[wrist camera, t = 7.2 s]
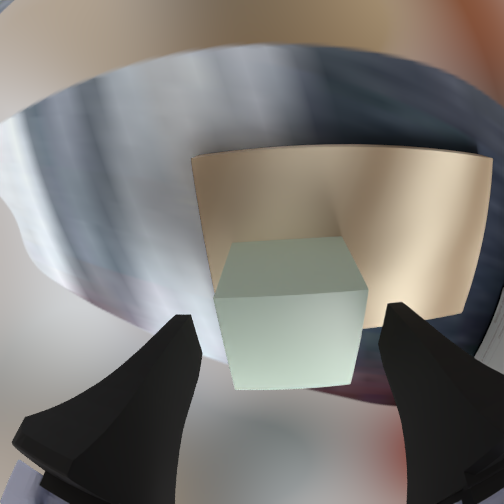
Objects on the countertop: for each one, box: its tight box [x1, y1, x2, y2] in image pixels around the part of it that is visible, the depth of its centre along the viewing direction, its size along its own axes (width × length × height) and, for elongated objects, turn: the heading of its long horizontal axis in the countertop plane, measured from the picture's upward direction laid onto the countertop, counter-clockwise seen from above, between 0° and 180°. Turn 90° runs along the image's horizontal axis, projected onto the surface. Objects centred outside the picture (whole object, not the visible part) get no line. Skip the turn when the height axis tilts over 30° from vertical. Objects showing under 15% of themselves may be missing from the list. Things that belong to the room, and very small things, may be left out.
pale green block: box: [213, 236, 369, 390], centre depth 11 cm, size 5×5×4 cm
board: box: [191, 144, 493, 329], centre depth 12 cm, size 14×9×1 cm, turn 96°
